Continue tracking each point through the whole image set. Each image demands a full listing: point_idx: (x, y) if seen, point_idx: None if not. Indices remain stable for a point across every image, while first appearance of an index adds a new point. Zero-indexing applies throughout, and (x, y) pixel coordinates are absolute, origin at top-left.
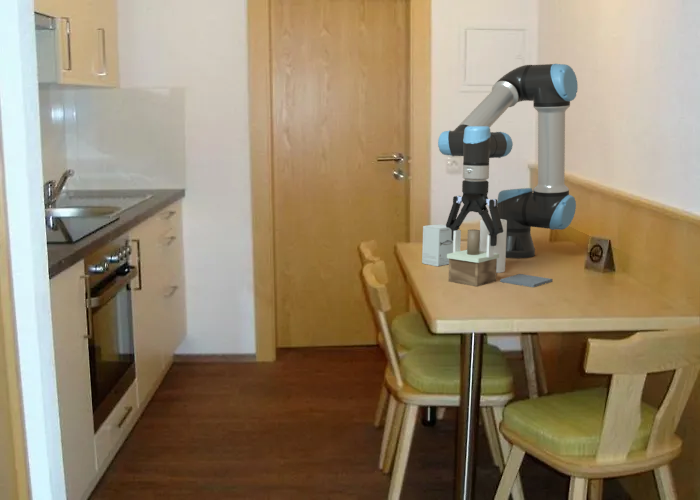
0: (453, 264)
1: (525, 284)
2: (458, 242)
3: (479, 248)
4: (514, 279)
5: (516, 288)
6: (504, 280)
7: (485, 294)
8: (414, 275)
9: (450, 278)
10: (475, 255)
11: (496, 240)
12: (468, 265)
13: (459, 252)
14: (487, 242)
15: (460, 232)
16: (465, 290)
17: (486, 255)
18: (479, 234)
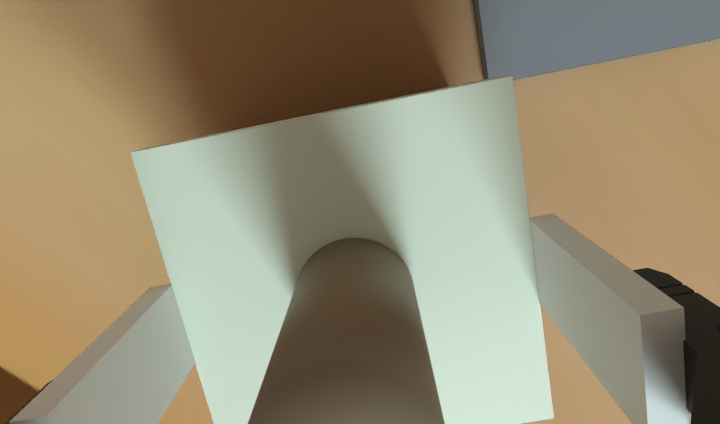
0: None
1: (690, 43)
2: (143, 362)
3: (405, 280)
4: (561, 4)
5: (681, 150)
6: (521, 77)
7: None
8: (34, 377)
9: None
10: (426, 332)
11: (696, 296)
12: None
13: (225, 339)
14: (605, 378)
15: (71, 402)
16: None
17: (491, 252)
18: (434, 386)
